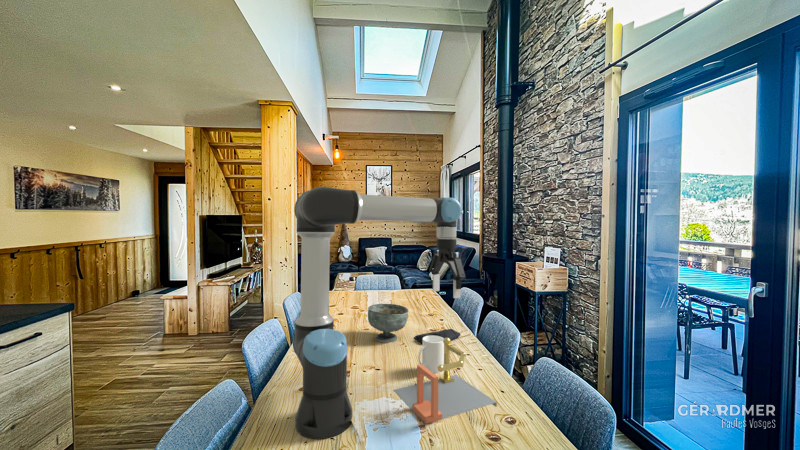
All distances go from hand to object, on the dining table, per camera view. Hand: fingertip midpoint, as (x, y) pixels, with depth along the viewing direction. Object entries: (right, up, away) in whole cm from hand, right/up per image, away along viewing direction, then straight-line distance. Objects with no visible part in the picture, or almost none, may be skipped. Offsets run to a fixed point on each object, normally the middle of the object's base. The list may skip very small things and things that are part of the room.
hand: (446, 294), depth 122 cm
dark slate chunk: (+1, -29, +33) cm, 44 cm away
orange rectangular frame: (-10, -26, -32) cm, 43 cm away
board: (-4, -28, -23) cm, 36 cm away
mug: (-7, -28, -4) cm, 29 cm away
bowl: (-23, -28, +31) cm, 48 cm away
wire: (-4, -27, -21) cm, 34 cm away
